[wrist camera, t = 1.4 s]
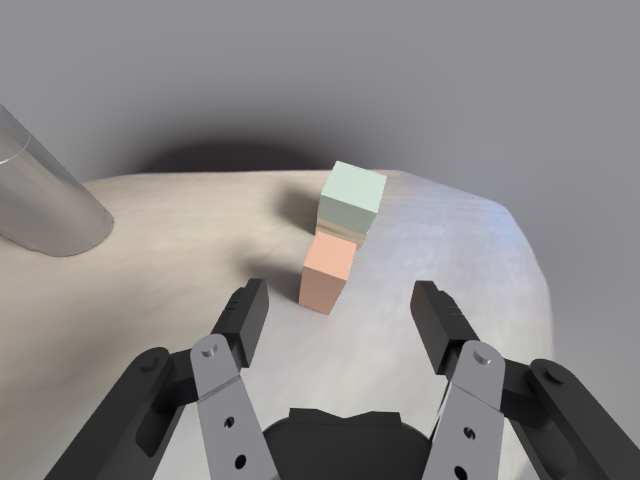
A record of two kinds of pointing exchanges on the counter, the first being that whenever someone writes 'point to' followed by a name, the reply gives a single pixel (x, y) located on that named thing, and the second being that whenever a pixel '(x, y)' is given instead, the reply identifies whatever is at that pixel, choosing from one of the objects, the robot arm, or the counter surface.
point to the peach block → (325, 272)
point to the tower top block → (351, 197)
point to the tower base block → (340, 232)
